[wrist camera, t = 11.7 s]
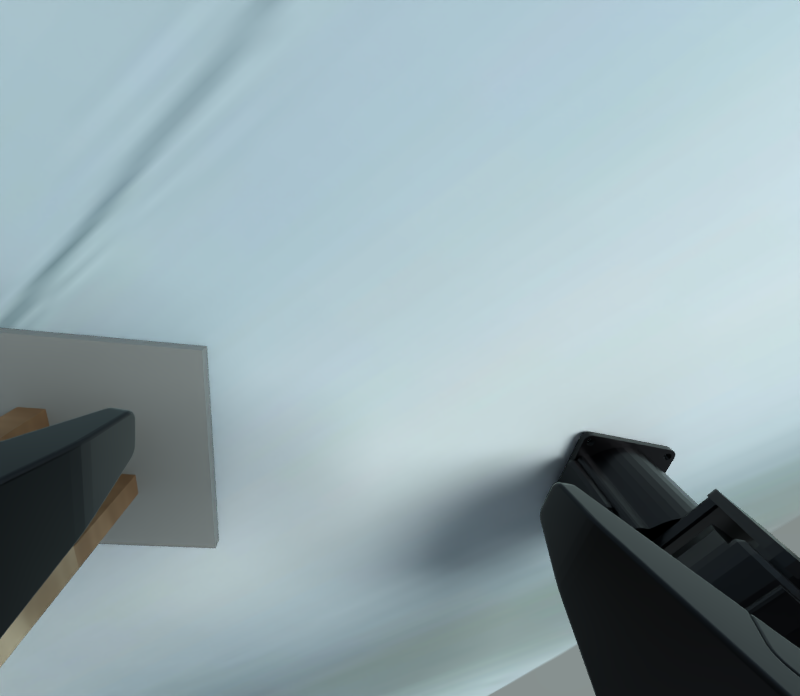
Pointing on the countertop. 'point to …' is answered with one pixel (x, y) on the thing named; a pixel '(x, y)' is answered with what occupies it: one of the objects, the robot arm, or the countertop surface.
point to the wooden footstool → (102, 522)
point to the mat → (154, 427)
